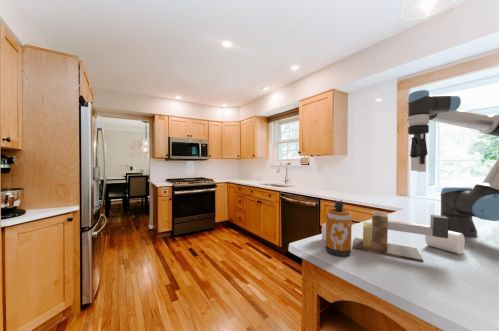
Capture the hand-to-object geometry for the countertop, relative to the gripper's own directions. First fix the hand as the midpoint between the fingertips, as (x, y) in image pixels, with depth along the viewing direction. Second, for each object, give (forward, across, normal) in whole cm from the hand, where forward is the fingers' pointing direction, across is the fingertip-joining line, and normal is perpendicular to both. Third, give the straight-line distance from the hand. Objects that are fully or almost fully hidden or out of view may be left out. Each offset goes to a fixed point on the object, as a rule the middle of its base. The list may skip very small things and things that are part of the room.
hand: (417, 171), depth 97 cm
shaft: (+23, +23, -6) cm, 33 cm away
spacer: (+26, +22, -21) cm, 40 cm away
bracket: (+31, +23, -15) cm, 41 cm away
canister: (+31, +34, -31) cm, 56 cm away
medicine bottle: (+31, +24, -34) cm, 52 cm away
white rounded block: (+32, +8, +8) cm, 34 cm away
